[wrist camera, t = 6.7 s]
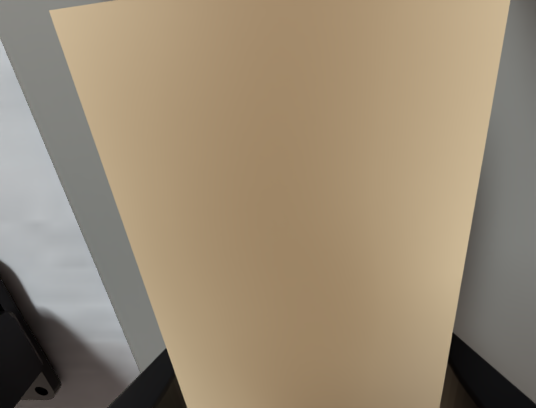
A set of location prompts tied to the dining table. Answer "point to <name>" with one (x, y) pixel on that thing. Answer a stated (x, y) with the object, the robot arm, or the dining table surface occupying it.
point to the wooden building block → (294, 184)
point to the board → (483, 222)
